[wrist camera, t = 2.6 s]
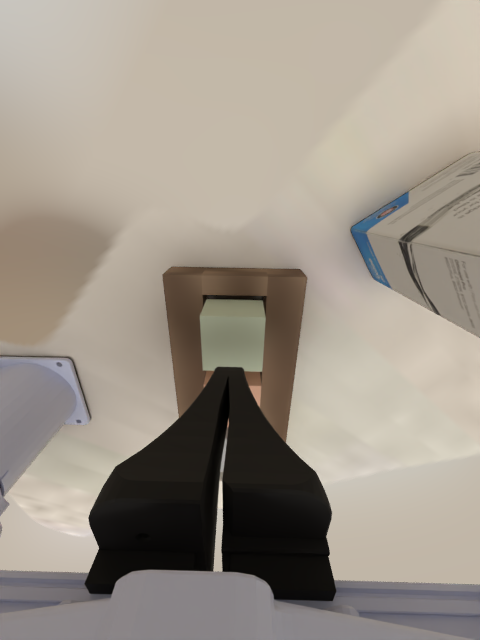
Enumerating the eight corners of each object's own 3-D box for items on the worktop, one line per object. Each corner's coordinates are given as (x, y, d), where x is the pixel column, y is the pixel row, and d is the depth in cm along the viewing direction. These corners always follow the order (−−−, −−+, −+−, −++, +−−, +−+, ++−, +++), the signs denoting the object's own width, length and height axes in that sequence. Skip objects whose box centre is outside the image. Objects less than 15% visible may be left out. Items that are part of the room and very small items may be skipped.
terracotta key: (210, 398, 22) (206, 426, 19) (209, 360, 20) (203, 384, 17) (256, 400, 22) (258, 428, 19) (258, 361, 20) (261, 386, 17)
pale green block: (208, 347, 20) (202, 370, 17) (206, 299, 18) (199, 316, 15) (259, 348, 20) (262, 371, 17) (262, 300, 18) (265, 317, 15)
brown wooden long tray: (191, 464, 29) (186, 484, 27) (171, 266, 19) (162, 274, 17) (277, 466, 29) (279, 487, 27) (300, 269, 19) (307, 277, 17)
